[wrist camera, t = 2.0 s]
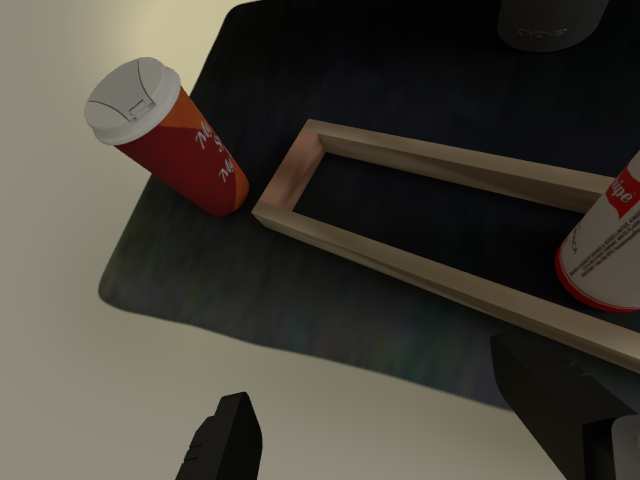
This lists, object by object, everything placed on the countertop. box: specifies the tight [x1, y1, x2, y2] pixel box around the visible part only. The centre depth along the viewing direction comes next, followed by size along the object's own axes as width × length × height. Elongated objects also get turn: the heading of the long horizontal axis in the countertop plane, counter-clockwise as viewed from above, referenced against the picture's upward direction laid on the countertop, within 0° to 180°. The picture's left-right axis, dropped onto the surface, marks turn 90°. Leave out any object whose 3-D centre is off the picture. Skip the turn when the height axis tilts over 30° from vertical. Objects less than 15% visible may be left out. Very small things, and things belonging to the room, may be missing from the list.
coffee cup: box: [84, 57, 249, 216], centre depth 32 cm, size 8×8×15 cm
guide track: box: [251, 119, 640, 374], centre depth 28 cm, size 12×34×3 cm, turn 61°
